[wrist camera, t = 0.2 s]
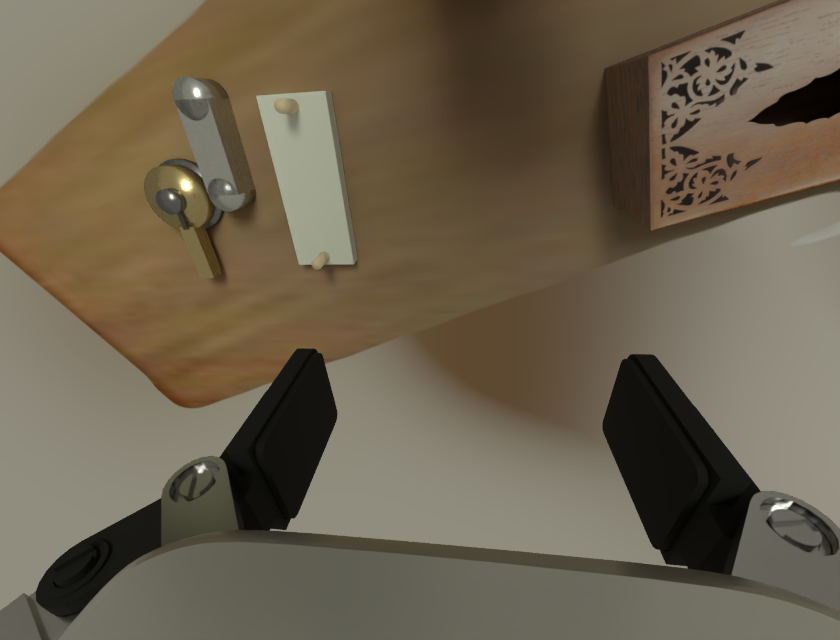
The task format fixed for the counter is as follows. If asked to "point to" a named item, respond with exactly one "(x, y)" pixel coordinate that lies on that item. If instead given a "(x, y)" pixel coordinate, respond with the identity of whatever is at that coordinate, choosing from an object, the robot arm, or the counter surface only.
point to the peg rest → (310, 175)
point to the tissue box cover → (728, 115)
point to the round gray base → (195, 168)
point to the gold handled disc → (185, 211)
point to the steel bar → (215, 141)
